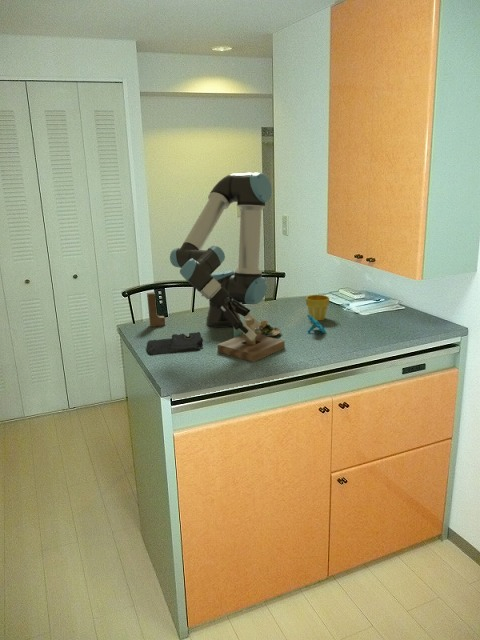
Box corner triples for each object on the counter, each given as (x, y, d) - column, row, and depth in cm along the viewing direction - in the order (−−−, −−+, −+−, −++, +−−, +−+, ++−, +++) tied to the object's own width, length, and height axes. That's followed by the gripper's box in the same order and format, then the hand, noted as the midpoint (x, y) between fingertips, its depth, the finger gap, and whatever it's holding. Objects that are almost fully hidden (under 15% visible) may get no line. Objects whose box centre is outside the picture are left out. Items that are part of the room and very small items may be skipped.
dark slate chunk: (146, 344, 208) (145, 333, 207) (200, 339, 212) (199, 328, 211) (147, 357, 194) (146, 345, 192) (205, 351, 197) (204, 339, 196)
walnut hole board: (217, 351, 195) (217, 344, 194) (249, 339, 207) (248, 332, 206) (253, 362, 183) (253, 354, 182) (284, 348, 196) (284, 340, 195)
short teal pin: (232, 340, 207) (231, 323, 205) (238, 338, 210) (237, 321, 208) (238, 342, 205) (238, 325, 203) (244, 339, 207) (244, 323, 205)
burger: (268, 341, 204) (268, 323, 202) (246, 336, 212) (246, 319, 210) (287, 334, 213) (286, 316, 211) (265, 329, 220) (264, 312, 218)
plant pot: (332, 316, 233) (333, 295, 230) (323, 322, 225) (323, 301, 222) (311, 314, 238) (311, 293, 236) (302, 320, 230) (301, 298, 227)
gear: (327, 332, 206) (309, 315, 206) (316, 342, 207) (299, 325, 207) (327, 328, 217) (310, 311, 217) (317, 337, 218) (300, 321, 218)
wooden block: (150, 327, 229) (147, 294, 225) (149, 325, 232) (146, 292, 228) (165, 325, 231) (162, 292, 227) (164, 323, 234) (161, 291, 230)
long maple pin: (244, 350, 195) (242, 320, 192) (250, 347, 197) (249, 317, 194) (251, 352, 193) (249, 321, 189) (257, 349, 195) (256, 319, 192)
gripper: (215, 292, 204) (254, 328, 206) (201, 309, 180) (244, 350, 182) (228, 279, 201) (267, 316, 203) (214, 294, 178) (259, 336, 180)
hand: (256, 332), depth 193 cm, fingers open, 13 cm apart
